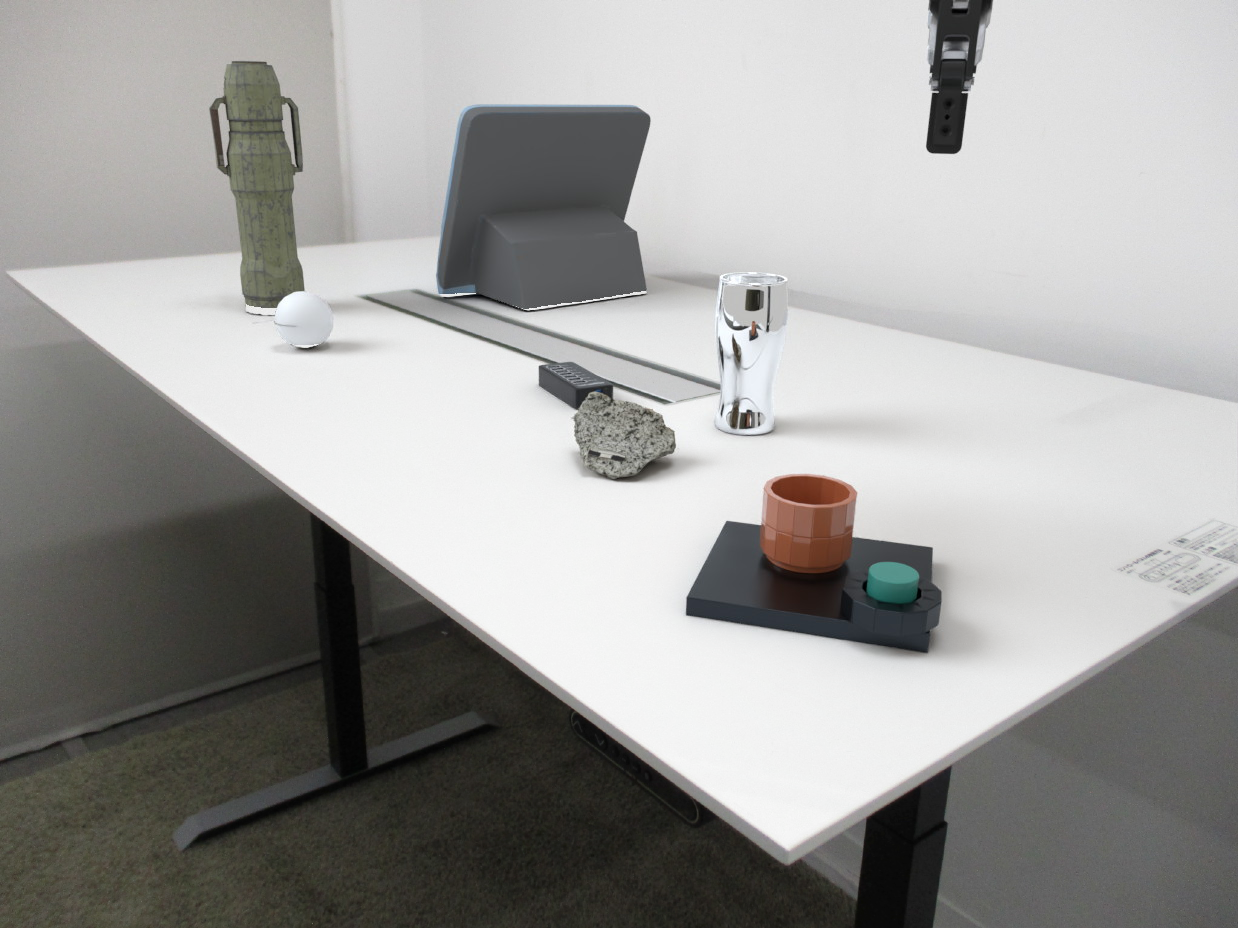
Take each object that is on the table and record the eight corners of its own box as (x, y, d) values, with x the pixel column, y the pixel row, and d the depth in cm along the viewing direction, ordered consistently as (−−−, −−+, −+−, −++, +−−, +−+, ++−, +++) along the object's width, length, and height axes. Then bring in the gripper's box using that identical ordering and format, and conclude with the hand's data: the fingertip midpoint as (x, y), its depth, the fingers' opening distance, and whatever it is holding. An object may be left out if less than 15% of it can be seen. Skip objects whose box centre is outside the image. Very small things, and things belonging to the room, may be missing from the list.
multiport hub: (572, 380, 118) (572, 360, 117) (614, 405, 108) (614, 384, 108) (537, 384, 116) (537, 364, 115) (577, 410, 106) (577, 389, 106)
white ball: (333, 339, 135) (328, 285, 133) (338, 352, 129) (333, 295, 126) (254, 344, 132) (248, 288, 129) (256, 358, 125) (249, 299, 123)
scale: (937, 565, 72) (942, 527, 71) (935, 663, 60) (941, 618, 59) (725, 537, 76) (727, 500, 75) (681, 623, 64) (683, 580, 63)
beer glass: (783, 437, 99) (795, 285, 94) (712, 436, 99) (720, 283, 94) (774, 416, 105) (785, 272, 100) (708, 415, 105) (715, 271, 100)
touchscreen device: (599, 274, 185) (603, 101, 174) (670, 294, 171) (680, 108, 160) (431, 296, 164) (424, 100, 153) (497, 320, 150) (495, 107, 139)
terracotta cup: (853, 544, 72) (860, 479, 70) (846, 581, 67) (853, 512, 65) (767, 533, 74) (771, 469, 72) (752, 568, 68) (757, 500, 67)
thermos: (228, 308, 153) (197, 61, 141) (306, 301, 159) (283, 63, 147) (241, 319, 146) (210, 60, 134) (322, 311, 152) (299, 62, 140)
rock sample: (555, 442, 84) (598, 360, 88) (542, 472, 92) (582, 395, 95) (665, 497, 85) (703, 414, 88) (643, 523, 92) (680, 445, 95)
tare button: (917, 587, 63) (919, 565, 63) (915, 609, 61) (918, 586, 60) (868, 580, 64) (870, 558, 64) (864, 601, 61) (867, 578, 61)
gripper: (1048, -145, 56) (1006, 158, 62) (1029, -100, 69) (996, 148, 75) (909, -138, 58) (880, 154, 64) (916, -96, 71) (891, 145, 77)
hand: (943, 150), depth 69 cm, fingers open, 8 cm apart
